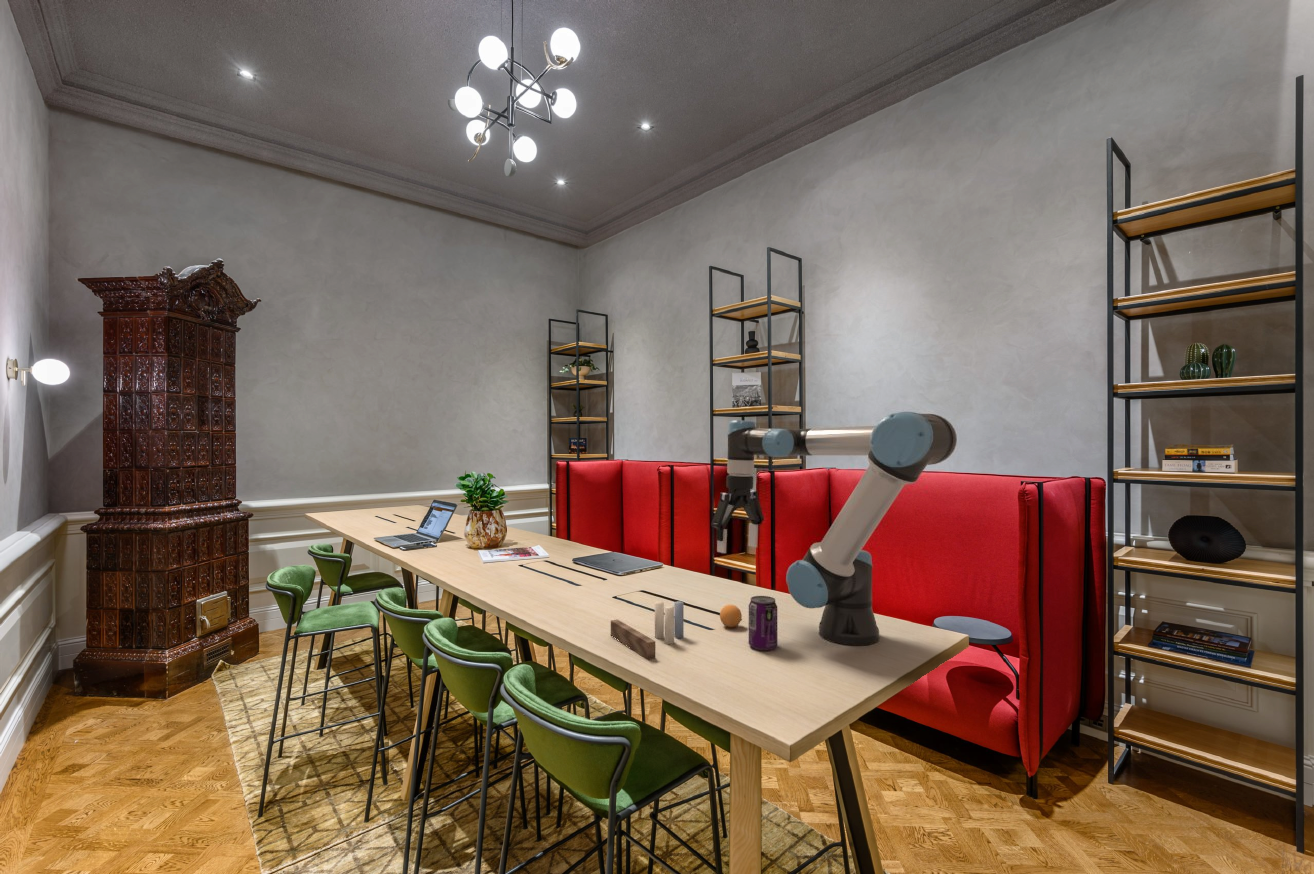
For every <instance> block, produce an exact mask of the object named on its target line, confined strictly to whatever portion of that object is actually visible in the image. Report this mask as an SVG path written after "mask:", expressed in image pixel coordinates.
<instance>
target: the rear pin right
mask: <svg viewBox="0 0 1314 874" xmlns="http://www.w3.org/2000/svg"><path fill="white" fill-rule="evenodd" d="M654 638H655V639H657V640H658V639H659V640H660V639H661V640H662V639H665V602H664V601H655V602H654Z"/></svg>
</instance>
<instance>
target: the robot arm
mask: <svg viewBox="0 0 1314 874" xmlns="http://www.w3.org/2000/svg"><path fill="white" fill-rule="evenodd" d="M957 441H958V437H957V433H956V430H955V428H954V426H953V425H952V423H951V422H950V421H949V420H948V419H946V418H945V417H943V416H941V415H938V414H935V413H919V412H913V411H902V412H901V411H900V412H895V413H891V414H888V415H887V416H884V417H883V418H882V419H880V420H879V421H878V422H877V424H875V425H865V426H861V425H859V426H843V427H842V426H841V427H839V426H837V427H836V426H835V427H816V428H777V427H776V428H775V427H774V428H770V427H766V428H765V427H758V428H757V427H756V422H755V421H754V420H741V419H739V420H734V419H733V420H731V421H730V422H729V423H728V432H727V462H726V464H727V465H726V466H727V467H726V471H727V474H728V475H726V488H727V490H728V493H727V492H720V495H719V501H718V505H717V507H716V510H715V512H714V515H713V518H712V521H711V523H710V526H711V527H712V528H713V529H716V545H717V546H716V552H717V553H721V554H727V537H728V528H727V529H726V527H727V525H728V524H729V521H730V520H731V517H732V516H733V514H734V513H735V511H737V510H738V509H742V508H743V510H744V512H745V514H746V515H747V517H748V520H749V521H750V523H748V541H747V543H748V544H747V546H748V547H752V548H753V547H754V548H758V536H759V527H760V526H761V525H763V522H764V520H765V517H764V513H763V511H762V508H761V504H760V501H759V491H758V490H754V477H753V475H754V474H755V456H764V457H772V458H784V457H787V456H788V457H789V456H792V457H793V456H795V457H796V456H798V457H799V456H800V457H801V456H804V457H807V456H811V457H812V456H867V460H868V462H869V465H868V467H867V469H866V470H865V472H864V473H863V475H862V476H861V478H860V479H859V481H858V483H857V485H856V486H855V488H854V489H853V491H852V492H851V494H850V496H849V497H848V499H847V500H846V502H845V504H844V505H843V506H842V508H841V510H840V511H839V513H838V515H837V516H836V518H835V519H834V521H833V523H832V524H831V526H830V527H829V529H828V530H827V532H826V533H825V535H824V537H823V538H822V540H821V541H820V542H814V543H813V544H812V545H810V547H809V549H808V550H807V552H806V553H805V555H804V556H803V558H802V559H799V560H795V562H793V563H792V564H791V565H789V567H788V568H787V571H786V577H785V580H786V584H787V588H788V589H787V590H788V592H789V594H790V596H791V597H792V599H793V600H794V601H795V602H796V603H797V604H798V605H799V606H802V607H804V608H805V609H820V608H823V607H824V609H823V612H822V615H821V618H820V621H819V625H818V634H819V636H820V637H822V639H824V640H827V641H830V642H833V643H837V644H841V645H849V646H866V645H872V644H875V643H878V642H880V628H879V626H878V625H877V621H876V617H875V614H874V611H873V562H872V560H873V559H872V555H871V553H870V552H869V551H867V550H863V548H864V547H865V545H866V543H867V542H868V541H869V539H870V537H871V536H872V535H873V533H874V532H875V530H876V528H877V527H878V526H879V524H880V523H881V521H882V519H883V518H884V516H885V515H886V514H887V512H888V511H889V509H890V507H891V506H892V504H893V503H894V502H895V500H896V499H897V497H898V495H899V494H900V492H901V491H902V489H903V488H904V486H906V485H911V484H914V483H916V482H917V481H918V479H919V478H920V476H921V475H922V473H923V472H924V470H925V469H926V467H927V466H930V465H937V464H940V463H942V462H944V461H946V460H947V459H948V458H950V456H951V455H952V454H953V453H954V451H955V449H956V446H957ZM752 489H753V490H752ZM759 525H760V526H759Z"/></svg>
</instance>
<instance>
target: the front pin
mask: <svg viewBox="0 0 1314 874" xmlns="http://www.w3.org/2000/svg"><path fill="white" fill-rule="evenodd" d="M673 603H674V604H673V605H674V606H673V607H674V639H678V640H679V639H684V636H685V635H684V634H685V633H684V628H685V627H684V626H685V625H684V624H685V623H684V613H685V612H684V611H685V610H684V601H675V602H673Z"/></svg>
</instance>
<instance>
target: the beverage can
mask: <svg viewBox="0 0 1314 874" xmlns="http://www.w3.org/2000/svg"><path fill="white" fill-rule="evenodd" d="M778 642H779V641H778V605H777V603H776V598H774V597H771V596H768V595H754V596H751V597H750V602H749V603H748V645H749V646H750V647H752V648H753V649H755V650H759V651H771V650H773V649H775V648H777V647H778V644H779V643H778Z"/></svg>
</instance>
